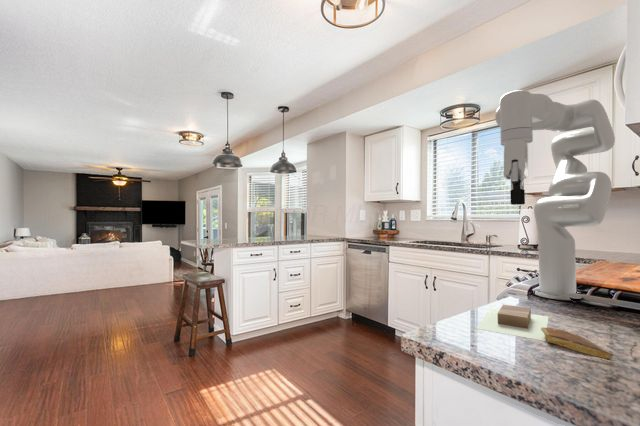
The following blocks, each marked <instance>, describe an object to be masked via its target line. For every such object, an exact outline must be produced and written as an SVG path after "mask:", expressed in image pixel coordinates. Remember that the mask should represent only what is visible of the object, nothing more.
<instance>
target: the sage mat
mask: <svg viewBox="0 0 640 426" xmlns="http://www.w3.org/2000/svg"><path fill="white" fill-rule="evenodd" d="M499 310H500V309H498V308H490V309H489V310H488V312H487V313H486V314H485V315H484V316H483V318H482V320H481V321H480V322H479V324H478V325H477V327H476V330H481V331H487V332H492V333H498V334H501V335H502V334H503V335H510V336H515V337H521V338H525V339H531V340H535V341H536V340H537V341H542V342H546V341H547V340H546V336H545V335H544V333H543V332H542V330H541V328H543V327H544V328H548V323H549V316H547V315H540V314H532V313H531V319H530V323H529V326H528V329H526V328H520V327H514V326H508V325H502V324H498V312H499Z"/></svg>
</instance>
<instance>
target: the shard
mask: <svg viewBox="0 0 640 426" xmlns="http://www.w3.org/2000/svg"><path fill="white" fill-rule="evenodd" d="M541 330H542V332H543V333H544V335H545V336H546V341H547V343H549V344H550V343H551V344H555V345H558V346H559V347H565V348H567V349H570V350H572V351H576V352H580V353H583V354H588V355H592V356H595V357H598V358H602V359H603V360H606V361H610V360H611V357H613V356H614V354H612V353H610V352H609V351H607V350H605V349H603V348H601V347H600V346H598V345H597V344H595V343H594V342H591V341H590V340H588V339H586V338H585V337H583V336H581V335H579V334H577V333H572V332H570V331H567V330H564V329H559V328H558V329H557V328H551V327H547V328H544V327H543V328H541Z"/></svg>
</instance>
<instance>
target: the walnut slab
mask: <svg viewBox="0 0 640 426" xmlns="http://www.w3.org/2000/svg"><path fill="white" fill-rule="evenodd" d="M531 310H532V309H531V307H526V306H518V305H512V304H510V305H509V304H504V303H503V304H502V306H501V307H500V309H499V312H498V324H502V325H508V326H514V327H520V328H526V329H528V326H529V323H530V319H531V314H532V313H531V312H532V311H531Z"/></svg>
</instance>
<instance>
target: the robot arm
mask: <svg viewBox="0 0 640 426" xmlns="http://www.w3.org/2000/svg"><path fill="white" fill-rule="evenodd" d="M606 111H607V110H606V109H605V107H604V106H603V104H602V103H601V102H600V101H599V100H596V99H588V100H583V101H579V102H575V103H571V104H564V103H561V102H557V101H553V100H552V99H551V97H550V96H548V95H546V94H544V93H531V92H530V91H529V90H526V89H520V90H519V89H518V90H513V91H510V92H507V93H504V94H503V95H502V96H501V97H500V100H499V107H498V108H497V109H496V110H495V116H494V117H495V123H496V124H497V125H498V127H499V128H500V145H501V146H503V147H504V149H503V150H504V151H503V178H504V179H506V180H508V181H510V195H509V196H510V205H511V206H515V205H521V206H522V205H525V203H526V199H525V198H526V197H525V196H526V192H525V190H526V189H525V185H524V184H525V179H527V178H528V167H529V161H528V160H529V154H528V152H529V151H528V150H529V149H528V148H529V147H528V146H529V145H528V144H531V143H533V131H542V130H543V131H544V130H545V131H551V132H554V133H555V132H556V133H562V134H560V135H557V136H555V137H554V138H553V139H552V141H551V145H550V146H551V147H550V148H551V149H550V151H551V156H552V158H553V162H554V165H555V168H556V170H555V171H554V172H555V173H554V175H553V177H552V180H551V182H550V184H549V187H548V191H547V192H548V196H547V197H543V198H540V199H539V200H537V201H536V202H535V204H534V206H533V215H534V218H535V223H536V230H537V240H538V246H537V247H538V284H539V285H538V286H539V287H538V288H539V289H540V291H541V292H538V291H535V294H534V295H536V296H538V297H542V298H547V299H551V300H560V301H572V300H571V299H570V298H569V297H568V296H566V295H568V294H575V293H576V292H577V293H580V292H578V291H577V269H576V268H577V267H576V264H577V263H576V262H577V261H576V241H575V238H574V237H573V235H572V234H571V233H570V232H569V231H568V229H567V228H568V227H573V228H575V227H578V228H584V227H585V228H586V227H587V228H588V227H589V228H591V227H596V226H599V225H600V224H601V223H602V222H603V221H604V219H605V214H606V211H607V208H608V204H609V201H610V198H611V195H612V181H611V178H610V177H609V175H608V174H607V173H606V172H604V171H588V167H587V166H586V165H585V164H584V163H583V161H581V160H579V159H578V158H576V156H585V155H592V154H601V153H606V152H608V151H610V150H611V149H613V147H614V145H615V140H616V137H615V133H614V129H613V127H612V124H611V122H610V119H609V115H608V114H607V112H606ZM563 132H564V133H563Z"/></svg>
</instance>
